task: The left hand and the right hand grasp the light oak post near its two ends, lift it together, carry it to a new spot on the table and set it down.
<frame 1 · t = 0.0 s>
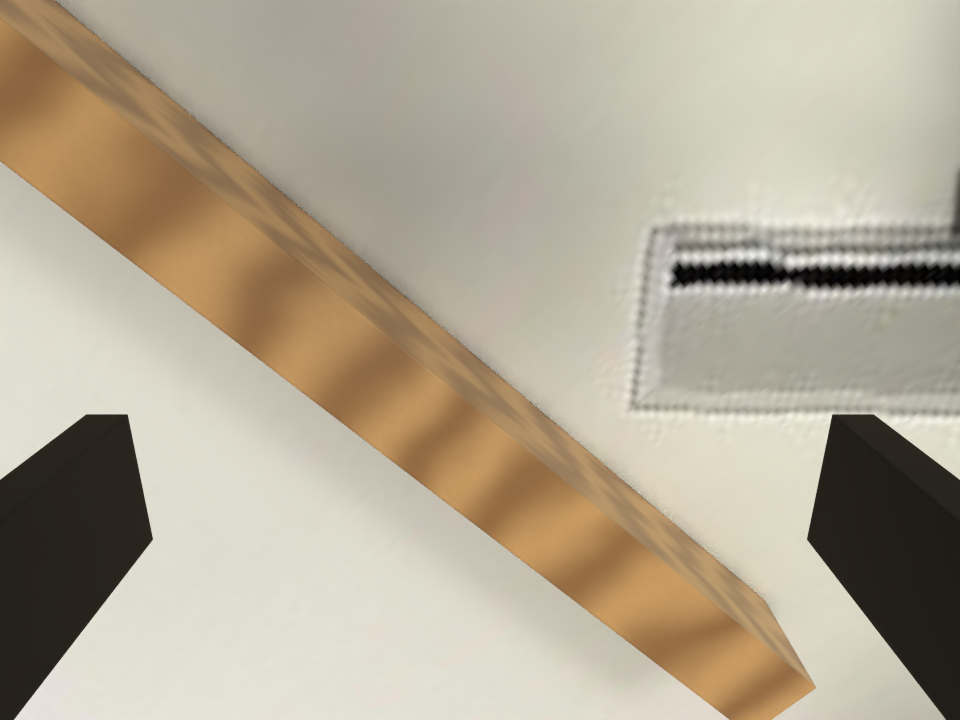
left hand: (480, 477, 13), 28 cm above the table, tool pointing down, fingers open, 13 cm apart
post: (375, 326, 41), on the table
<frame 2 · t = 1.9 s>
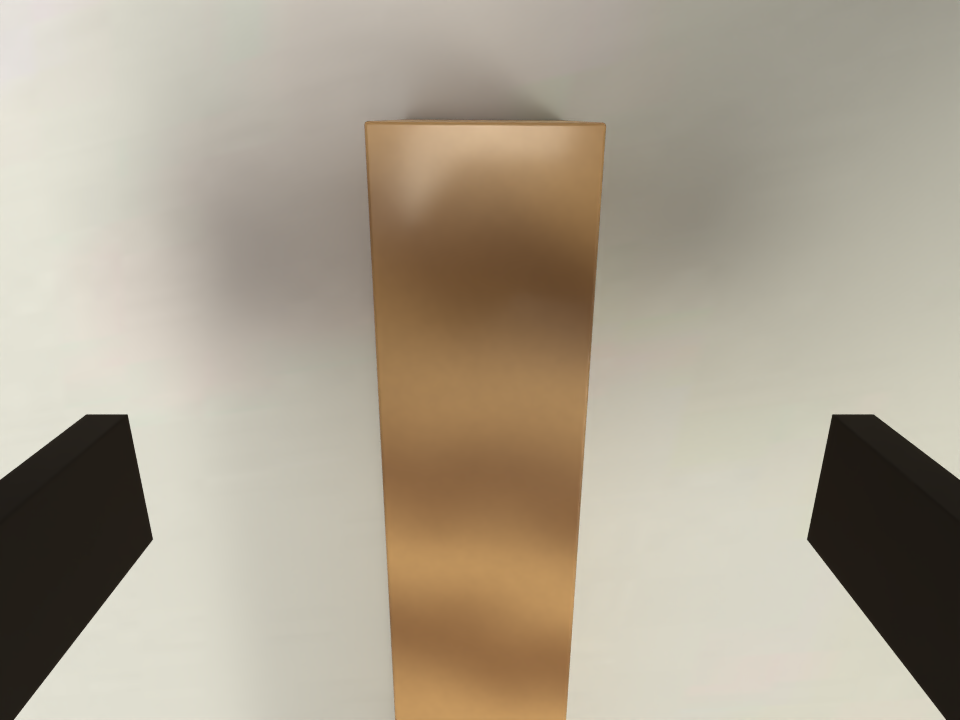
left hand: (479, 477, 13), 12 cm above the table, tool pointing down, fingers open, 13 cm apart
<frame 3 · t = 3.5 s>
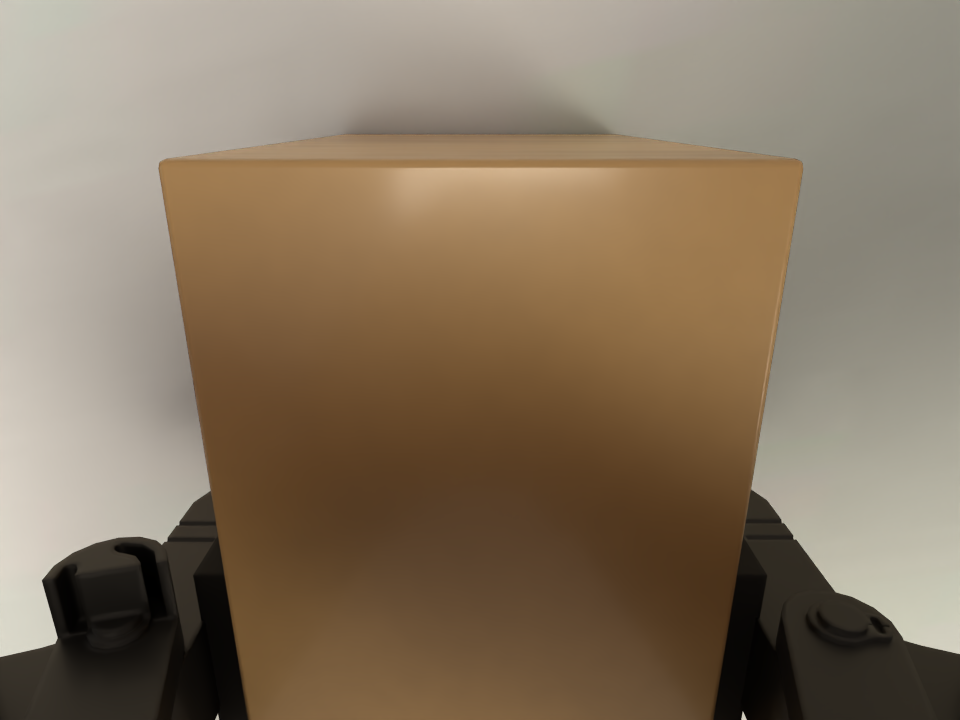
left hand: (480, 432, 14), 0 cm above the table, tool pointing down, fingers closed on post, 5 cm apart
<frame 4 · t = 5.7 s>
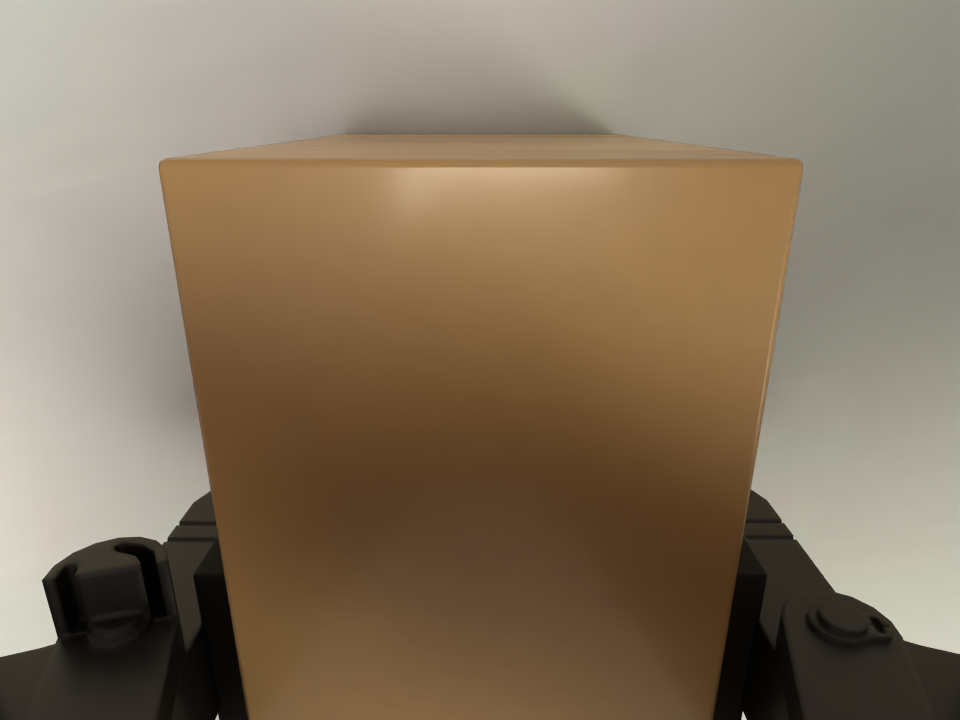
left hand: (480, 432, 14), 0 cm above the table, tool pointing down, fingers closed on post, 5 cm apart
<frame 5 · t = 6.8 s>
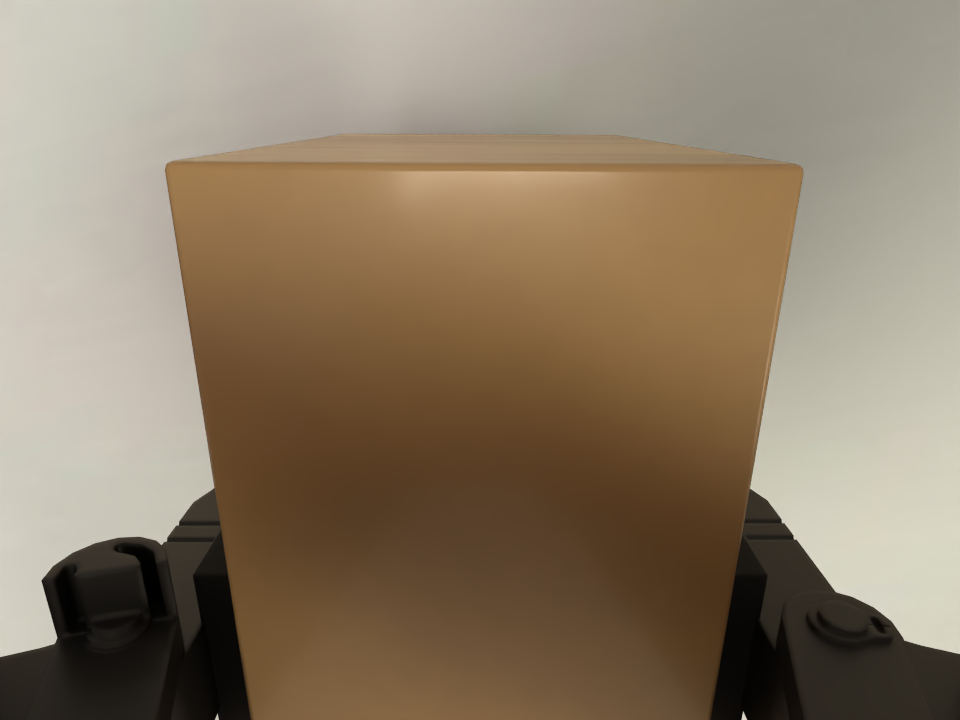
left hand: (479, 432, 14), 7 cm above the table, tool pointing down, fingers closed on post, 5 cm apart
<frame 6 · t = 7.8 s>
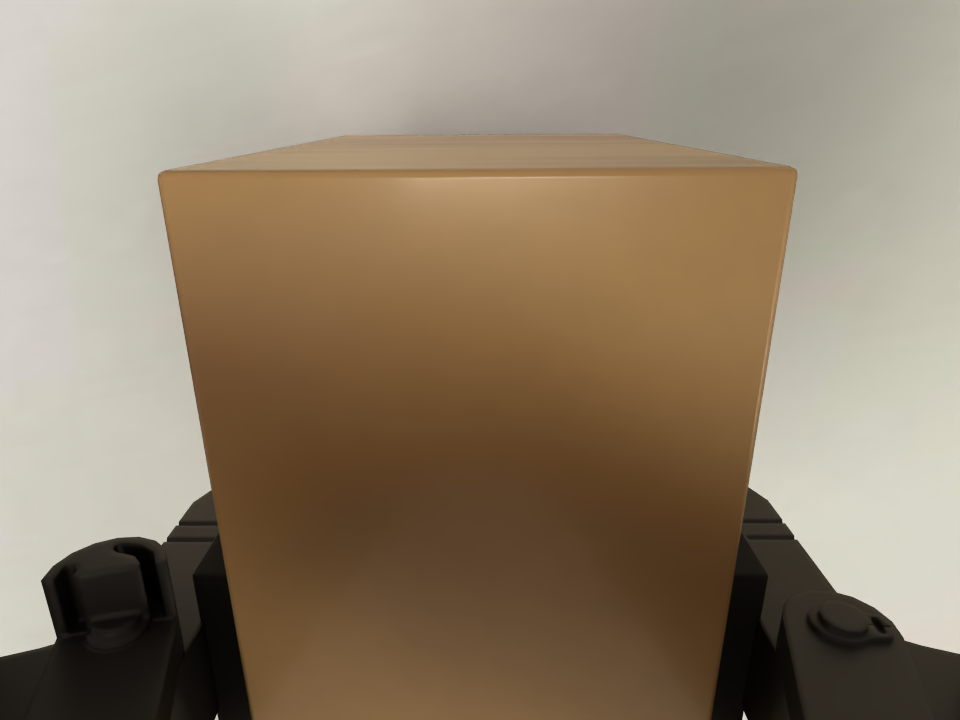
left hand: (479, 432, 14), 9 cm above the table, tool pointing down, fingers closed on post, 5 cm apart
when the left hand's fingers open (1 cm above the table, at t = 10.2 s): post stays where it is, on the table.
when the right hand's fingers open (4 cm above the table, at t = 10.4 s): post stays where it is, on the table.
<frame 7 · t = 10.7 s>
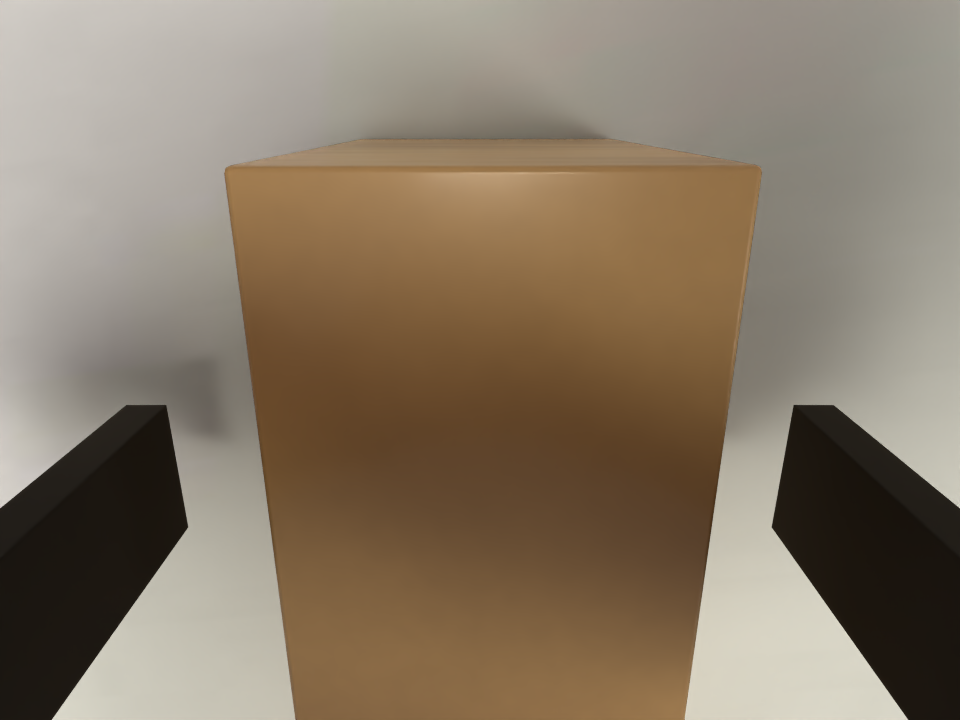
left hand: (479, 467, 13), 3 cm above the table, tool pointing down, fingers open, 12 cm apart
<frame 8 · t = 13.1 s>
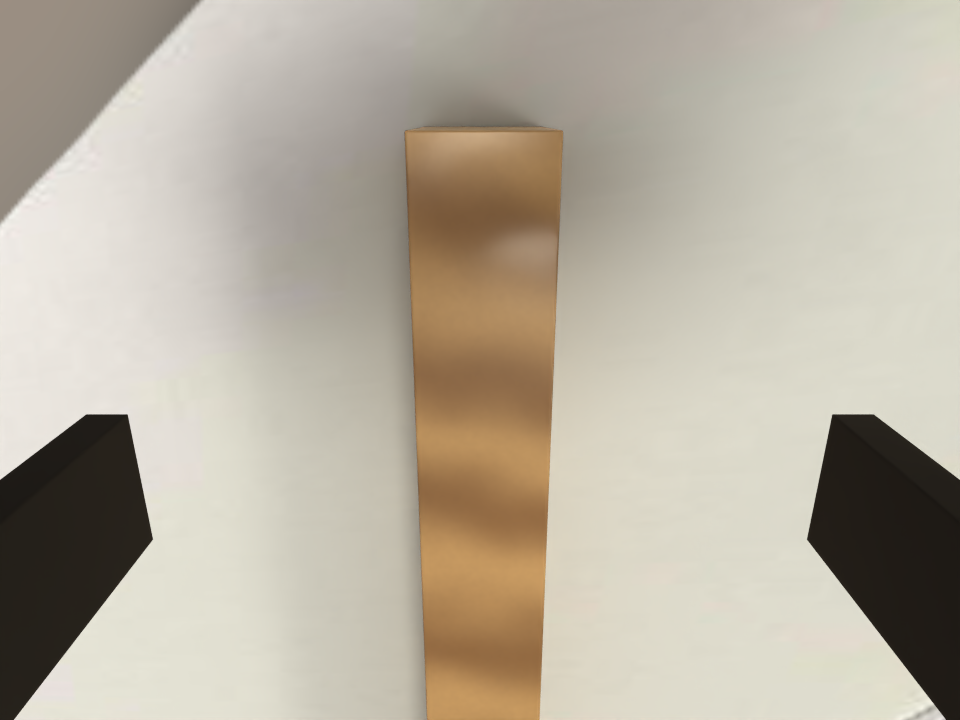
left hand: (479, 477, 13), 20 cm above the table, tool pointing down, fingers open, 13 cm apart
post: (482, 707, 41), on the table
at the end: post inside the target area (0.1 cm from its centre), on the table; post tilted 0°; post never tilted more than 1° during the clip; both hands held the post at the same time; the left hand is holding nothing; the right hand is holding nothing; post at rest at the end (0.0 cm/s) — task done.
